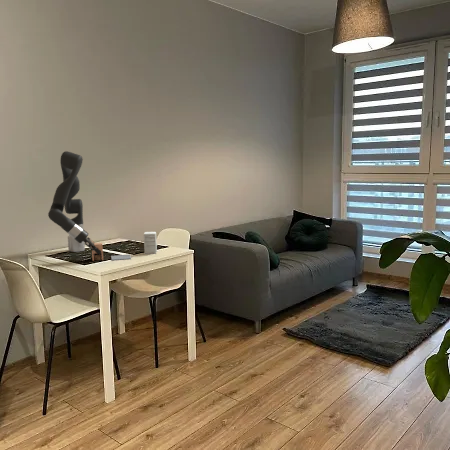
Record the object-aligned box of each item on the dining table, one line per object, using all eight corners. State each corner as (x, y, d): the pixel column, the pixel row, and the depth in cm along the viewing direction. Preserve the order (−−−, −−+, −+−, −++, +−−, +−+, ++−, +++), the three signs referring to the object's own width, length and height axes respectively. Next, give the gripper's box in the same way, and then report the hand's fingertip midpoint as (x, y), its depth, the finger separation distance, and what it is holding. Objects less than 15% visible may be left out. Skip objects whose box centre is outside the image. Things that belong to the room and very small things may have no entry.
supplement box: (145, 251, 287) (144, 231, 285) (157, 251, 288) (156, 231, 286) (144, 254, 280) (143, 233, 278) (156, 253, 280) (155, 233, 279)
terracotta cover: (92, 261, 263) (91, 244, 261) (92, 258, 268) (91, 243, 267) (103, 260, 264) (102, 244, 263) (103, 258, 270) (102, 242, 268)
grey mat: (111, 260, 263) (111, 259, 263) (111, 256, 273) (111, 255, 273) (131, 259, 266) (131, 258, 266) (129, 255, 276) (129, 254, 276)
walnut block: (95, 260, 264) (94, 255, 264) (95, 259, 267) (94, 254, 267) (100, 260, 265) (100, 255, 265) (100, 259, 268) (100, 254, 268)
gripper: (82, 230, 255) (105, 249, 259) (82, 226, 268) (104, 245, 273) (72, 240, 254) (95, 259, 259) (73, 236, 268) (95, 254, 272)
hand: (100, 251), depth 266 cm, fingers open, 7 cm apart
